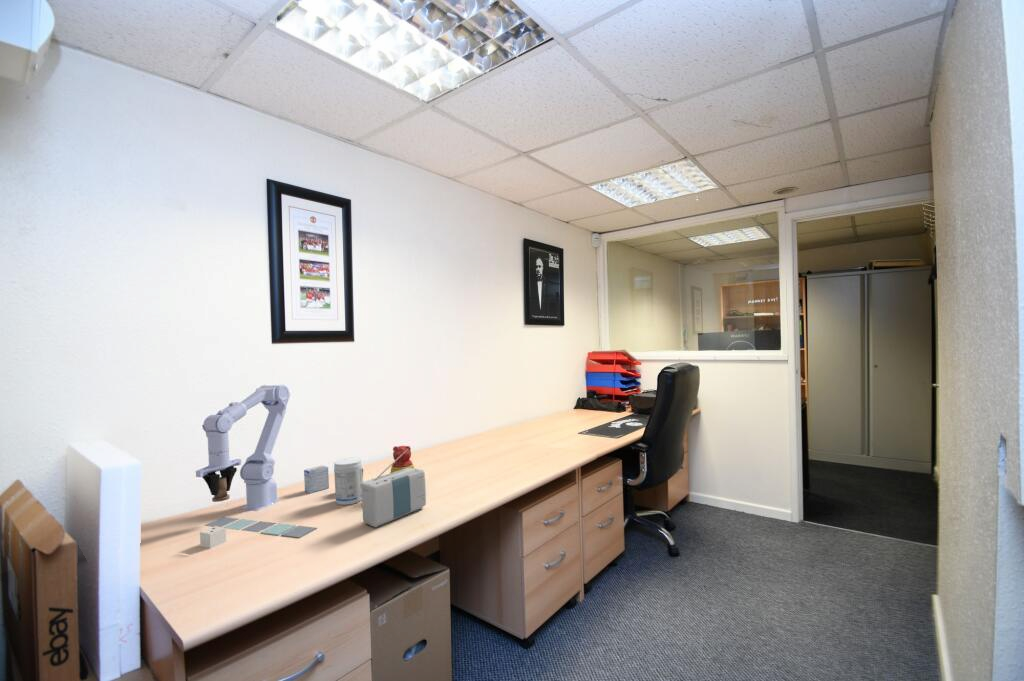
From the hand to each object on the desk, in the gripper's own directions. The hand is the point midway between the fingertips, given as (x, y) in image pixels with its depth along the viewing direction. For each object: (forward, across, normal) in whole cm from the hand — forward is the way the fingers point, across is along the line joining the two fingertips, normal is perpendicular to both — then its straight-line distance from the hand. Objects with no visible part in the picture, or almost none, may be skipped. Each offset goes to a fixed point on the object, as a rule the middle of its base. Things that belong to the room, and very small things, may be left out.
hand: (220, 492), depth 151 cm
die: (+10, +13, +14) cm, 21 cm away
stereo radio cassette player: (+10, -18, +54) cm, 58 cm away
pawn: (+2, 0, 0) cm, 2 cm away
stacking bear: (+10, -39, +44) cm, 60 cm away
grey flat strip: (+10, 0, +16) cm, 19 cm away
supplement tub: (+10, -27, +29) cm, 41 cm away
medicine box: (+10, -35, +7) cm, 37 cm away
